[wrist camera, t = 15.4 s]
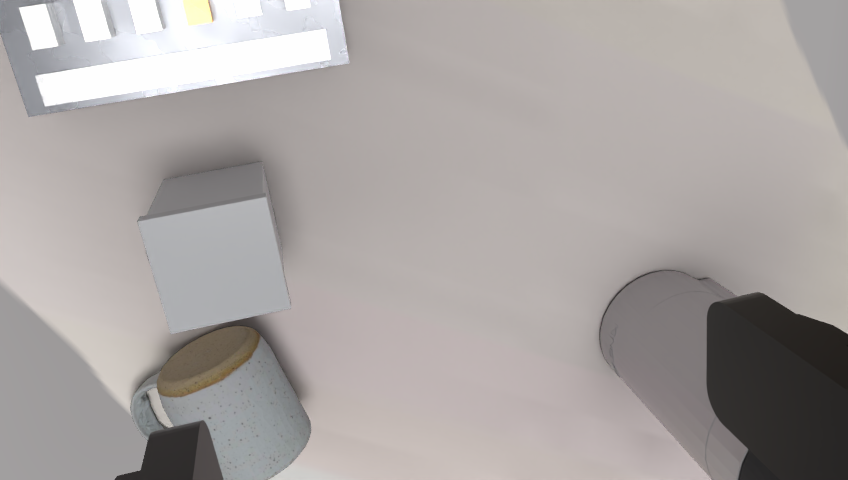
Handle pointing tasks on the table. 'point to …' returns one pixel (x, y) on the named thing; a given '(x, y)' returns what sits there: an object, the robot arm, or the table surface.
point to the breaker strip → (160, 46)
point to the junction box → (215, 248)
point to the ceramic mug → (231, 402)
